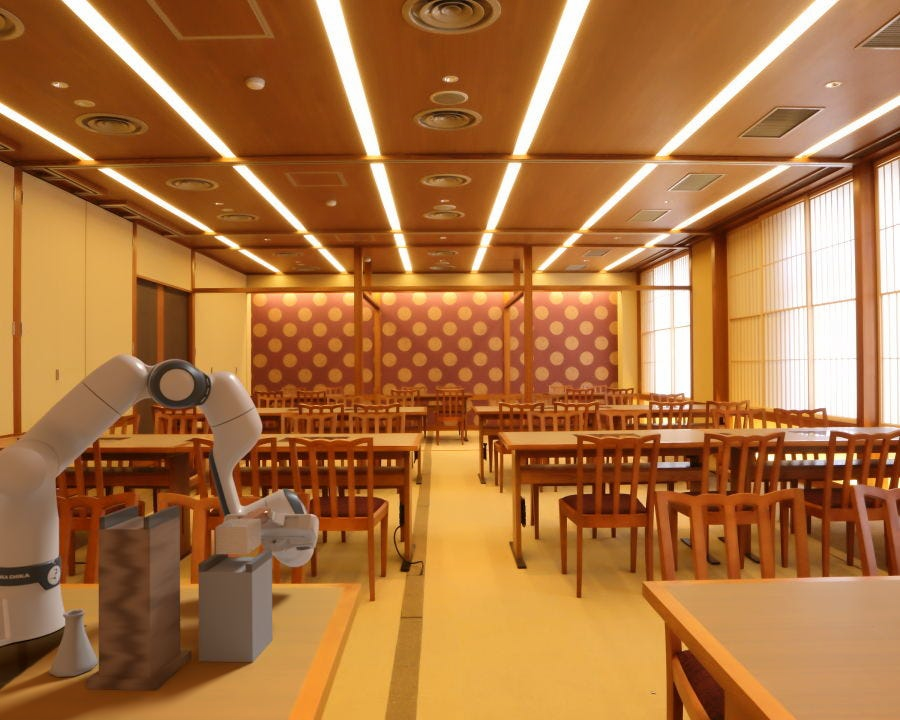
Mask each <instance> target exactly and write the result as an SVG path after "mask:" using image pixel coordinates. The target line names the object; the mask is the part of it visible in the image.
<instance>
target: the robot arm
mask: <svg viewBox="0 0 900 720" xmlns="http://www.w3.org/2000/svg"><path fill="white" fill-rule="evenodd" d="M144 399H152V400H153V401H155V403H157V404H159V405H160V406H161V407H164V408H168V409H172V410H173V409H175V410H176V409H177V410H179V409H185V408H191V407H197V408H198V409H199V410H201V412H202V414H203V415H204V417H205V419H206V420H207V423H208V426H209V427H210V429H211V432H212V436H213V446H212V448H211V449H210V450H209V453H208V462H209V467H210V471H211V475H212V479H213V484H214V488H215V490H216V495H217V497H218V501H219V505H220V508H221V511H222V515H223V523H224V522H226V521H228V520H230V519H240V518H242V517H244V516H246V515H248V514H249V513H251V512H253V511H255V510H257V509H259V508H271V511H267V512H266V517H265V519H266V520H267V521H268V522H267V523H265V524H264V525H262V526H261V545H260V546H261V547H263V549H264V550H266V549H272V557H273V556H274V557H275V559H276V560H277V561H279V562H280V563H282V564H283V565H285V566H287V567H290V568H292V567H293V568H298V567H301V566H304V565H305V564H307V563H308V562H309V561H310V560H311V558H312V556H313V554H314V550H315V548H316V546H317V542H318V537H319V528H320V526H319V525H320V521H319V518H318V517H317V515H316V514H312V513H308V511H307V509H306V507H305V505H304V503H303V501H302V499H301V498H300V497H299V495H298V494H297V493H296V492H294V491H292V490H291V489H289V488H282V489H280V490H276V491H275V492H273V493H270V494H268V495H266V496H265V497H263V498H261V499H258V500H256V501H254V502H252V503H250V504H247V505H242V504H241V502H240V499H239V496H238V495H239V494H238V492H237V491H238V490H237V489H236V485H235V481H234V477H233V473H234V472H233V471H234V469H235V467H236V465H237V464H238V463H240V461H241V460H242V459H244V457H245V456H247V454H248V453H250V451H252V449H253V448H254V446H256V444H257V443H258V441H259V440H260V438H261V435H262V432H263V423H262V419H261V417H260V414H259V412H258V410H257V407H256V405H255V403H254V402H253V399H252V397H251V396H250V394H249V392H248V391H247V389H246V388H245V387H244V385H243V383H242V382H241V381H240V379H239V378H238V376H237V375H235V374H234V372H230V371H227V370H220V371H215V372H212V373H209V374H206V373H205V372H203V371H202V370H200V369H199V368H198V367H196V366H195V365H193V364H192V363H191V362H188V361H186V360H183V359H179V358H170V359H167V360H163V361H160V362H158V363H157V362H156V363H154V364H148V365H147V364H146V363H144V362H143V361H142V360H140V359H139V358H137V357H135V356H133V355H130V354H125V353H123V354H117V355H115V356H113V357H112V358H110V359H109V360H107V361H105V362H104V363H103V364H101V365H99V366H98V367H96V369H94V370H92V372H90V373H88V375H87V376H85V377H84V378H83V379H82V380H81V381H79V382H78V384H76V385H75V386H74V387H73V388H72V389H71V390H70V391H68V393H66V394H65V395H63V397H62V398H60V399H59V401H57V402H56V403H54V405H53V406H52V407H51V408H50V409H49V410H48V411H47V412H45V414H44V415H43V416H42V417H41V418H39V419H38V421H37V422H35V423H34V424H33V425H32V427H30V428H29V429H28V430H27V431H26V432H25V433H24V434H23V435H22V436H20V437H19V438H18V439H17V440H16V441H15V442H13V443H12V444H10V445H8V446H5V447H4V448H2V449H1V450H0V647H4V646H6V645H9V644H12V643H17V642H22V641H27V640H32V639H36V638H40V637H43V636H46V635H49V634H52V633H55V632H56V631H58V630H60V629H62V628H63V627H64V628H65V618H64V617H63V614H65V613H66V611H65V607H64V602H63V596H62V590H61V577H62V556H61V555H60V518H59V511H58V501H57V487H56V486H57V485H56V483H57V482H56V481H57V480H56V478H57V477H59V475H61V473H63V472H64V470H66V469H67V468H68V467H69V466H70V465H71V464H72V463H73V462H74V461H75V460H77V459H78V458H79V457H80V456H81V455H82V454H83V453H84V452H85V451H86V450H87V449H88V448H89V447H91V446H92V445H93V444H94V443H95V442H96V441H97V440H98V439H99V438H100V437H102V436H103V434H104V433H106V432H107V430H108V431H109V428H111V427H112V426H113V425H114V424H115V423H116V422H118V420H119V419H121V417H123V416H124V414H125V413H126V412H127V411H128V410H130V409H131V408H132V407H133V406H135V405H136V404H137V403H138V402H140V401H142V400H144Z"/></svg>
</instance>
